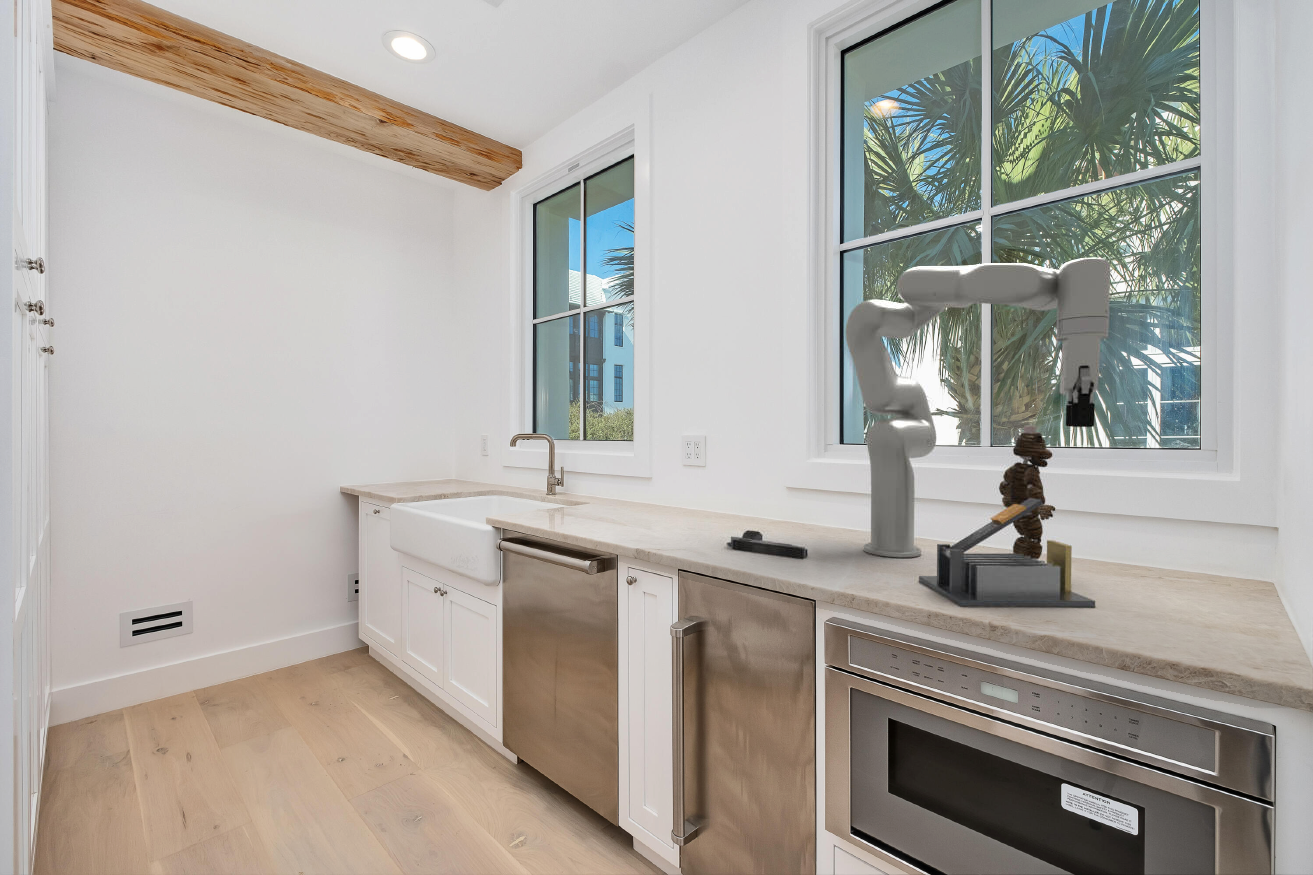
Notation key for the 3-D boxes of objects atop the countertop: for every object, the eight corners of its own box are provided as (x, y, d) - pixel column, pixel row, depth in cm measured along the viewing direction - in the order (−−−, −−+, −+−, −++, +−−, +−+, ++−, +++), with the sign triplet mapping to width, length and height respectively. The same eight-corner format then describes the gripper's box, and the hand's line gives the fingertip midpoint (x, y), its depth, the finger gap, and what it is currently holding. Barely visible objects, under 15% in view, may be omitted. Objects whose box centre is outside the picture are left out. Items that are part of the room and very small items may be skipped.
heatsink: (961, 606, 97) (961, 552, 97) (918, 581, 113) (919, 534, 113) (1095, 606, 97) (1096, 552, 97) (1033, 581, 113) (1034, 534, 113)
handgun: (744, 529, 154) (722, 537, 144) (821, 538, 142) (802, 547, 132) (744, 542, 154) (722, 550, 145) (821, 552, 142) (802, 562, 132)
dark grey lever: (953, 561, 103) (948, 553, 103) (944, 557, 107) (939, 549, 107) (1045, 505, 103) (1040, 497, 103) (1032, 502, 107) (1027, 494, 107)
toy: (1071, 585, 111) (1073, 425, 110) (1030, 583, 112) (1032, 425, 112) (1027, 561, 130) (1029, 425, 130) (993, 559, 132) (994, 425, 131)
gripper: (1053, 338, 115) (1050, 426, 115) (1060, 325, 100) (1057, 426, 100) (1101, 335, 111) (1098, 426, 111) (1116, 322, 96) (1113, 427, 96)
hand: (1079, 426), depth 106 cm, fingers open, 9 cm apart
